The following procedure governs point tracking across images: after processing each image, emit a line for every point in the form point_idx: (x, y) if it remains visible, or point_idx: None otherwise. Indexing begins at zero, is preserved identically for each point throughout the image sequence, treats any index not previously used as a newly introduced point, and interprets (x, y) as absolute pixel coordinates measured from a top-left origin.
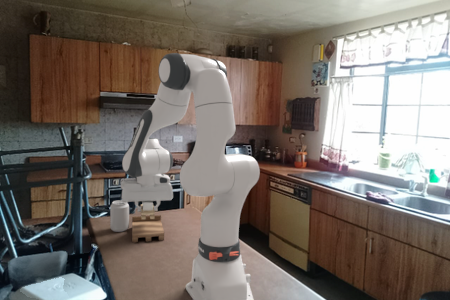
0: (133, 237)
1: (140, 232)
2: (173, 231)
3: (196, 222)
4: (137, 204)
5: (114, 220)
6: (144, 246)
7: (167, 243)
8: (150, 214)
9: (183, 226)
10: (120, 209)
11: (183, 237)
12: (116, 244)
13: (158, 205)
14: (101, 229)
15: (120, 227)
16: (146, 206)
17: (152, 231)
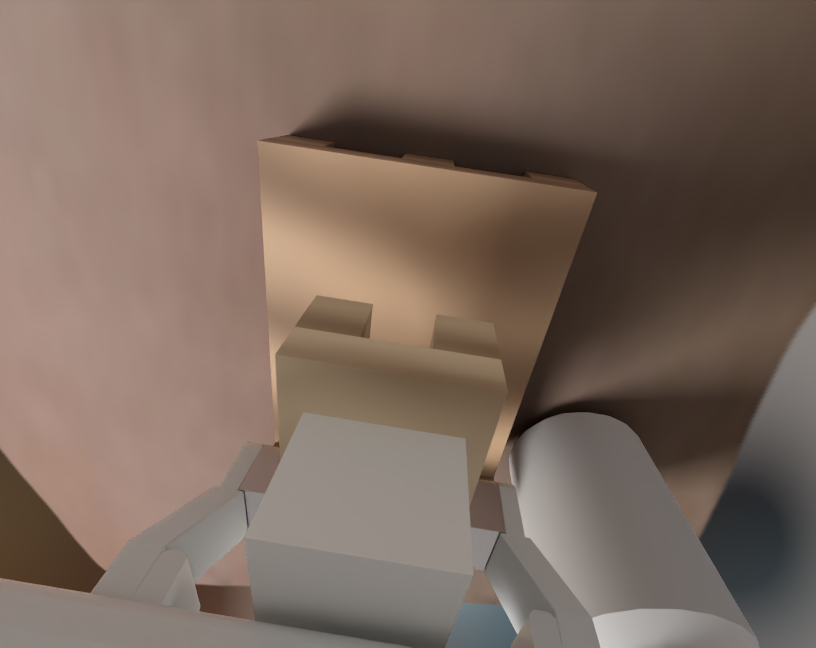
0: (577, 184)
1: (496, 236)
2: (204, 302)
3: (48, 400)
4: (525, 605)
5: (668, 494)
6: (496, 29)
7: (261, 34)
8: (359, 338)
9: (133, 365)
10: (676, 593)
11: (113, 145)
12: (719, 182)
13: (189, 506)
14: (679, 482)
15: (599, 430)
16: (402, 492)
17: (374, 224)
